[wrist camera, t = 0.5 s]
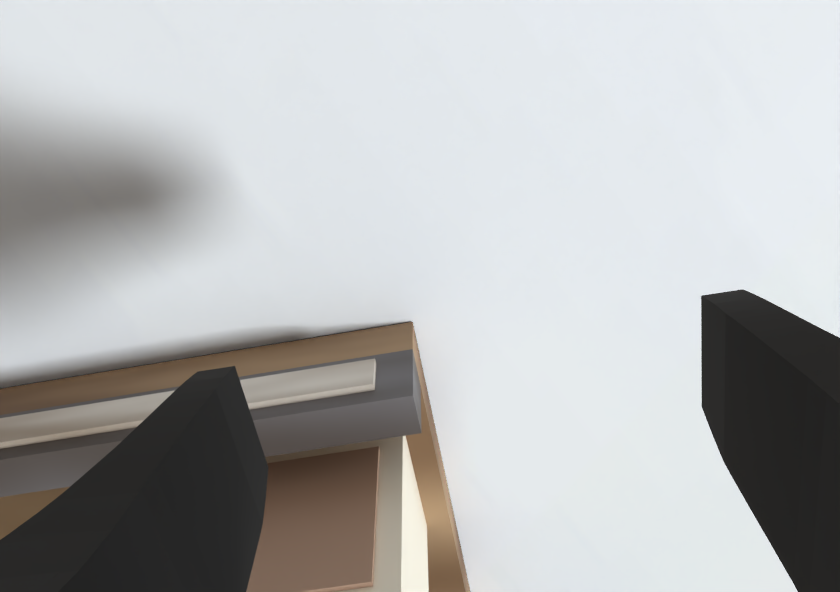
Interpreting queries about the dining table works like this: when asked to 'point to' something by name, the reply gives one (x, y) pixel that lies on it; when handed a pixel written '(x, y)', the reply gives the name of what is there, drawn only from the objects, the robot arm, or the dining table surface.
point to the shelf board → (271, 412)
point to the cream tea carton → (342, 522)
